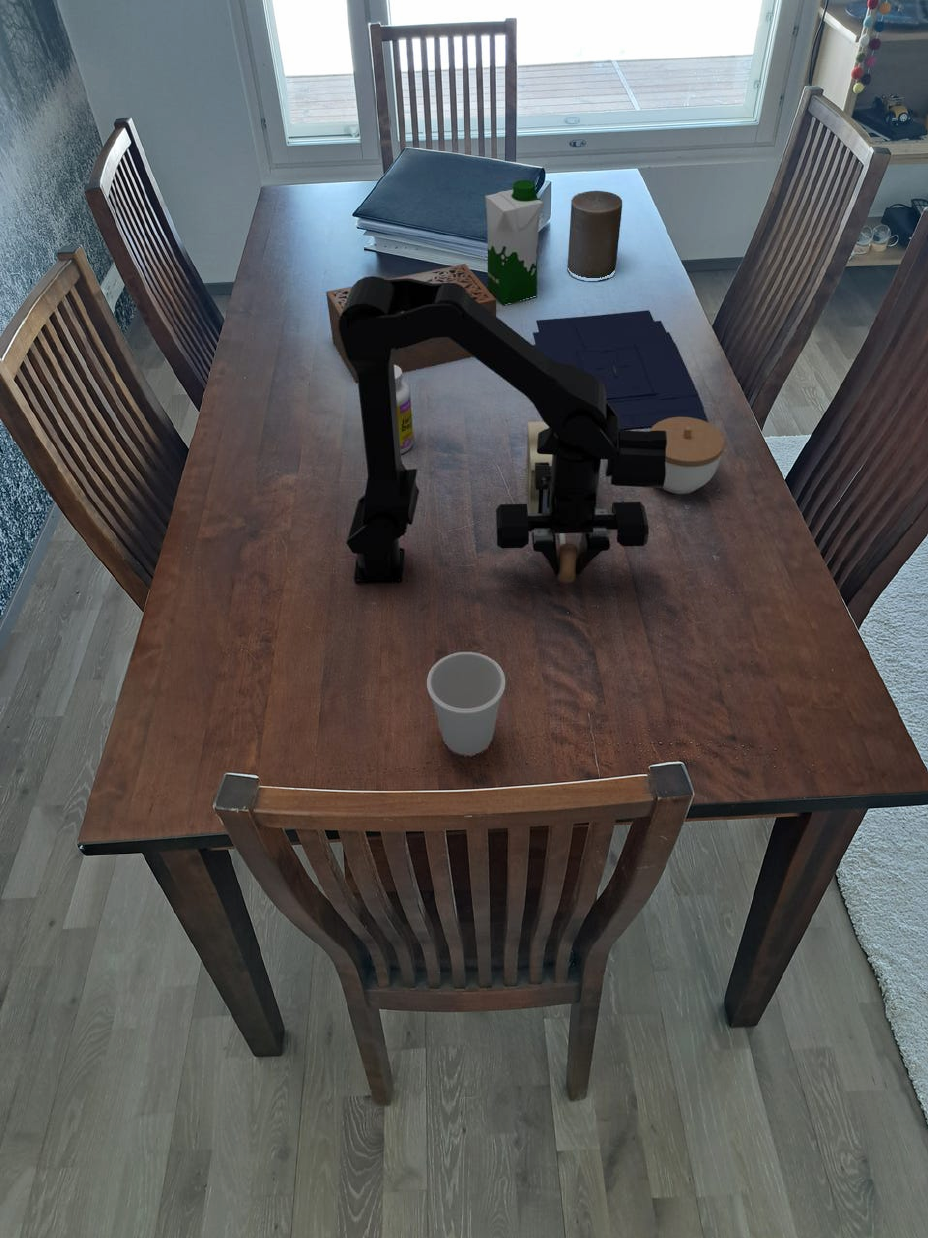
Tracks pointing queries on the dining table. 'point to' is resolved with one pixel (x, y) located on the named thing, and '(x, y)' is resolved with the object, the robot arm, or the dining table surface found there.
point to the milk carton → (513, 242)
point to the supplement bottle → (403, 411)
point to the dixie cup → (466, 699)
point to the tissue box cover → (414, 355)
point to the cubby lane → (532, 458)
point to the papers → (626, 364)
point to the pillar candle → (594, 233)
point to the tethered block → (563, 550)
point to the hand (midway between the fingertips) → (566, 572)
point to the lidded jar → (690, 453)
